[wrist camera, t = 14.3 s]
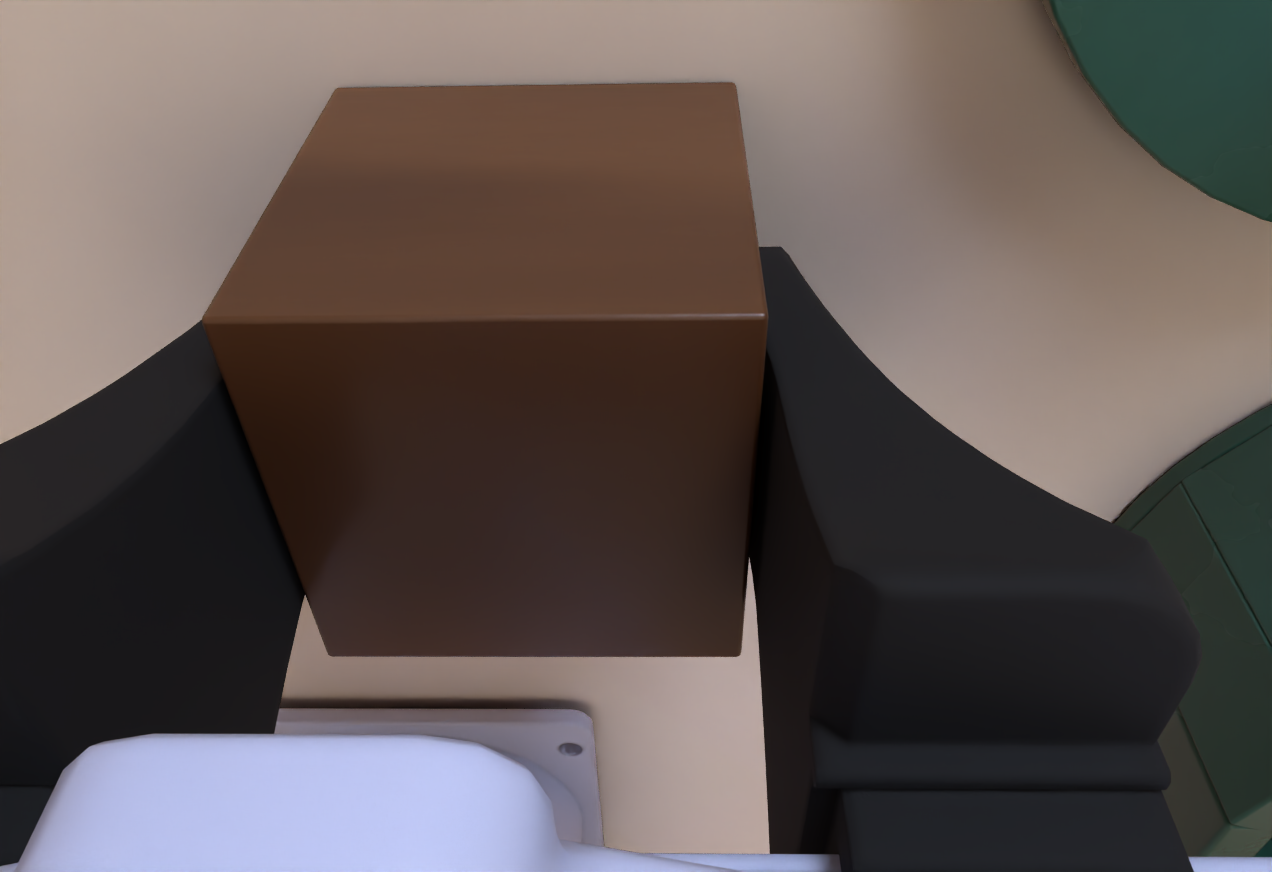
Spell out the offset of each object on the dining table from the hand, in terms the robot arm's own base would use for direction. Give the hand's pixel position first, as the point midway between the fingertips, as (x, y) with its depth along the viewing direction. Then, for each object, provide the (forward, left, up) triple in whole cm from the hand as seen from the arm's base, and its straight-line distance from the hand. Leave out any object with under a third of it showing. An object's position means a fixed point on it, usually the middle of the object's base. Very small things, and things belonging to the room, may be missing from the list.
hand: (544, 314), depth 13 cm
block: (0, 0, -1) cm, 1 cm away
